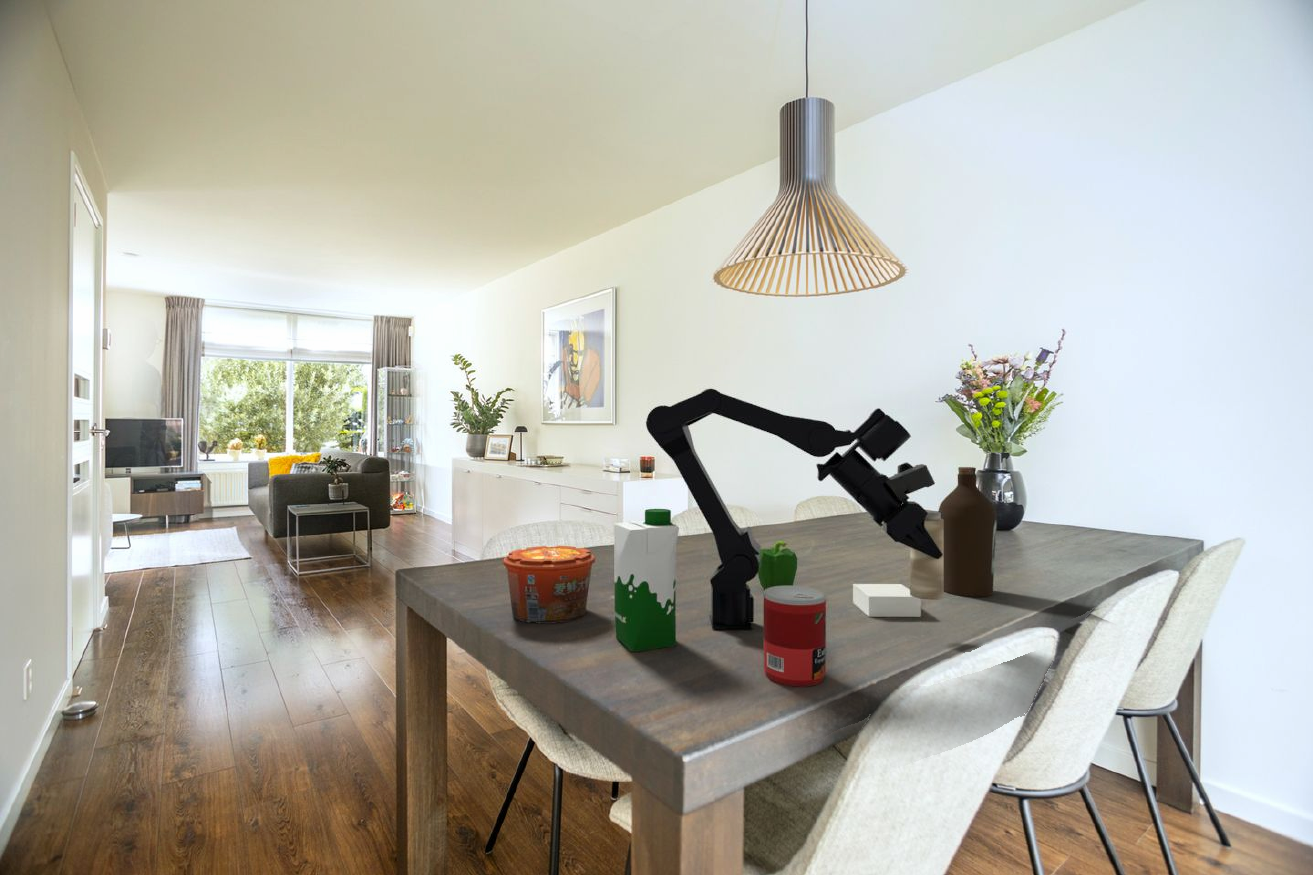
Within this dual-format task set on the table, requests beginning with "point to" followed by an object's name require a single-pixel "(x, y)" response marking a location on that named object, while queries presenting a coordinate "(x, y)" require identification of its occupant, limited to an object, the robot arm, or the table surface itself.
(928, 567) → the salt mill
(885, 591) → the stoneware block
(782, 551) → the bell pepper
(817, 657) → the canned food
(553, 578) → the food container
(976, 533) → the olive oil
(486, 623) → the table surface
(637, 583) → the milk carton
